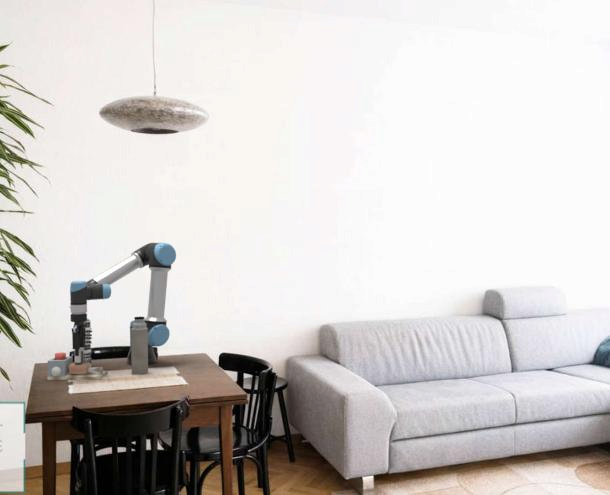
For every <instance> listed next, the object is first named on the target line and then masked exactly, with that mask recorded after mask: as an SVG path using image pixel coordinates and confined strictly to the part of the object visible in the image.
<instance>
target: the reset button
mask: <svg viewBox="0 0 610 495" xmlns="http://www.w3.org/2000/svg"><path fill="white" fill-rule="evenodd" d="M66 357H67V352H56V353H54V358H55V360H65V359H66Z"/></svg>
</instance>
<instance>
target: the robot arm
mask: <svg viewBox="0 0 610 495" xmlns="http://www.w3.org/2000/svg"><path fill="white" fill-rule="evenodd" d="M130 253H131V254H130V255H129V256H128V257H126V258H124V259H123V260H121V261H120V262H118V263H117V264H115V265H113V266H111V267H109V268H108V269H106V270H105V271H103V272H101V273H99V274H98V275H96V276H94V277H92V279H89V280H88V281H85V280H75V281H74V280H73V281H72V282H70V288H69V293H70V295H69V296H70V297H69V298H70V306H69V309H70V313H71V314H70V322H71V323H73V328H71V335H72V336H71V338H72V348H71V349H72V350H74V360H75V361H74V363H80V362H81V351H83V356H84V347H85V346H86V345H85V329H86V325H84V323H83V322H85V321H87V318H88V313H87V312H88V301H94V300H95V301H97V300H107V299H110V297H112V296H111V294H112V288H111V285H113V284H114V283H116V282H117V281H119V280H121V279H122V278H124V277H126V276H127V275H129V274H130V273H132V272H134V271H136V270H138V269H143V268H144V267H146V266H148V269H150V271H151V272H150V282H149V294H148V305H147V316H146V317H145V318H144V320H145V323H146V327H147V328H148V365H149V364H153V363H156V362H157V357H156V354H155V351H154V348H153V347H162V346H163V345H165V344H166V343H167V342H168V340H169V338H170V335H171V334H170V330H169V328H168V326H167V322H168V320H167V319H166V318H165V309H166V308H165V307H166V299H167V298H166V297H167V285H168V276H169V275H168V274H169V271H170V270H172V265H173V263H175V261H176V260H177V259H176V258H177V251H176V250H175V248H174V247H173V245H171V243H166V242H149V243H146V244H144V245H142V246H141V247H139V248H138V249H136V250H134V251H132V252H130ZM133 323H134V320H131V321H130V325H129V338H130V339H129V341H130V342H129V345H130V348H129V351H128V353H127V354H128V355H127V358H126V364H129V365H132V364H131V328H133Z"/></svg>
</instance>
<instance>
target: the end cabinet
mask: <svg viewBox="0 0 610 495" xmlns="http://www.w3.org/2000/svg"><path fill="white" fill-rule="evenodd" d="M73 360H74V359H73V356H66V359H65V360H55V357H53V358H51V359H49V360H47V377H65V376H67V375H68V374H69V369H68V366H69V365H70V364H72V363H74V362H73Z"/></svg>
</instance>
